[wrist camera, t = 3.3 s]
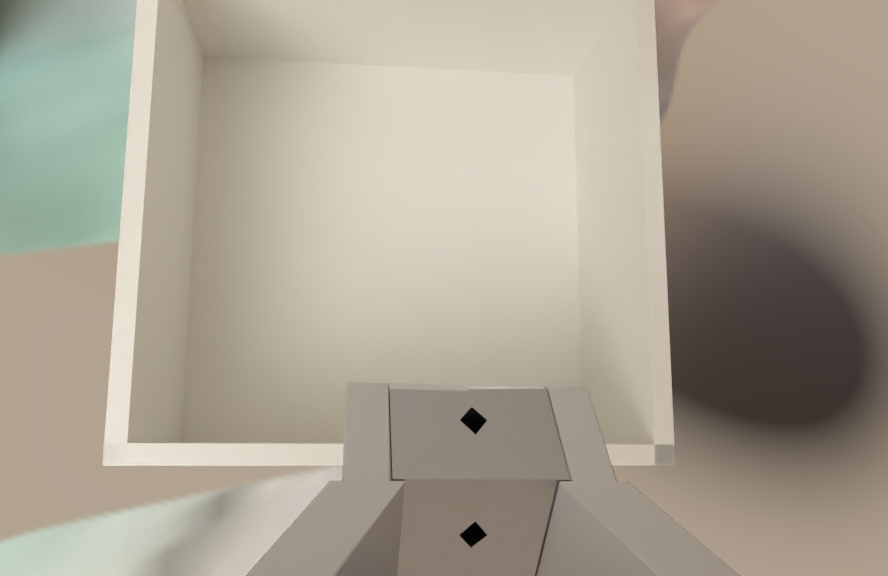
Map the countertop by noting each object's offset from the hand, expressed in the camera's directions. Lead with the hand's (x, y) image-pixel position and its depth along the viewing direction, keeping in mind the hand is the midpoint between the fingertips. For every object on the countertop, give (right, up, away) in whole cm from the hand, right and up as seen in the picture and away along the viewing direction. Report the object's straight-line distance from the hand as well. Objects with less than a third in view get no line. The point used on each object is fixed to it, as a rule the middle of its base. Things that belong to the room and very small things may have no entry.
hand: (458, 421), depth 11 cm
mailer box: (-2, +3, +22) cm, 22 cm away
